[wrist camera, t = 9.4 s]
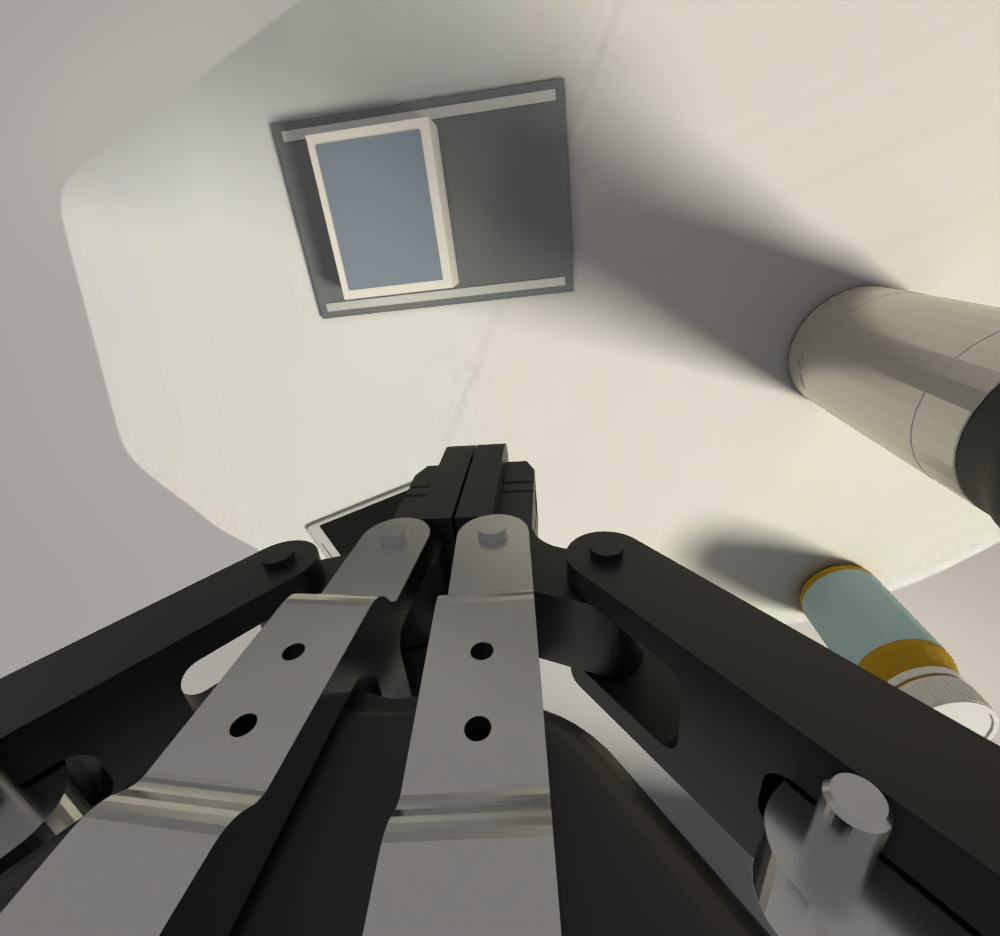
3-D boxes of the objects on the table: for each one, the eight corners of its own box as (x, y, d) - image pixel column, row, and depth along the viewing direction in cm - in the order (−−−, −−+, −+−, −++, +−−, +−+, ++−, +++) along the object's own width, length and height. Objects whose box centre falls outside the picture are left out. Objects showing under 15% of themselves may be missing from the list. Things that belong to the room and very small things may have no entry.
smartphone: (475, 529, 48) (474, 534, 47) (346, 576, 52) (343, 582, 51) (441, 469, 45) (440, 474, 45) (308, 523, 49) (304, 528, 48)
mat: (563, 79, 32) (564, 77, 31) (573, 290, 37) (573, 291, 37) (274, 125, 34) (270, 124, 33) (324, 317, 39) (322, 319, 39)
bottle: (792, 619, 50) (886, 763, 36) (800, 563, 47) (906, 699, 33) (866, 614, 49) (990, 761, 35) (879, 558, 46) (1020, 695, 32)
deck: (427, 116, 30) (304, 135, 31) (452, 287, 34) (344, 300, 35) (437, 125, 33) (324, 143, 34) (459, 282, 37) (359, 294, 38)
